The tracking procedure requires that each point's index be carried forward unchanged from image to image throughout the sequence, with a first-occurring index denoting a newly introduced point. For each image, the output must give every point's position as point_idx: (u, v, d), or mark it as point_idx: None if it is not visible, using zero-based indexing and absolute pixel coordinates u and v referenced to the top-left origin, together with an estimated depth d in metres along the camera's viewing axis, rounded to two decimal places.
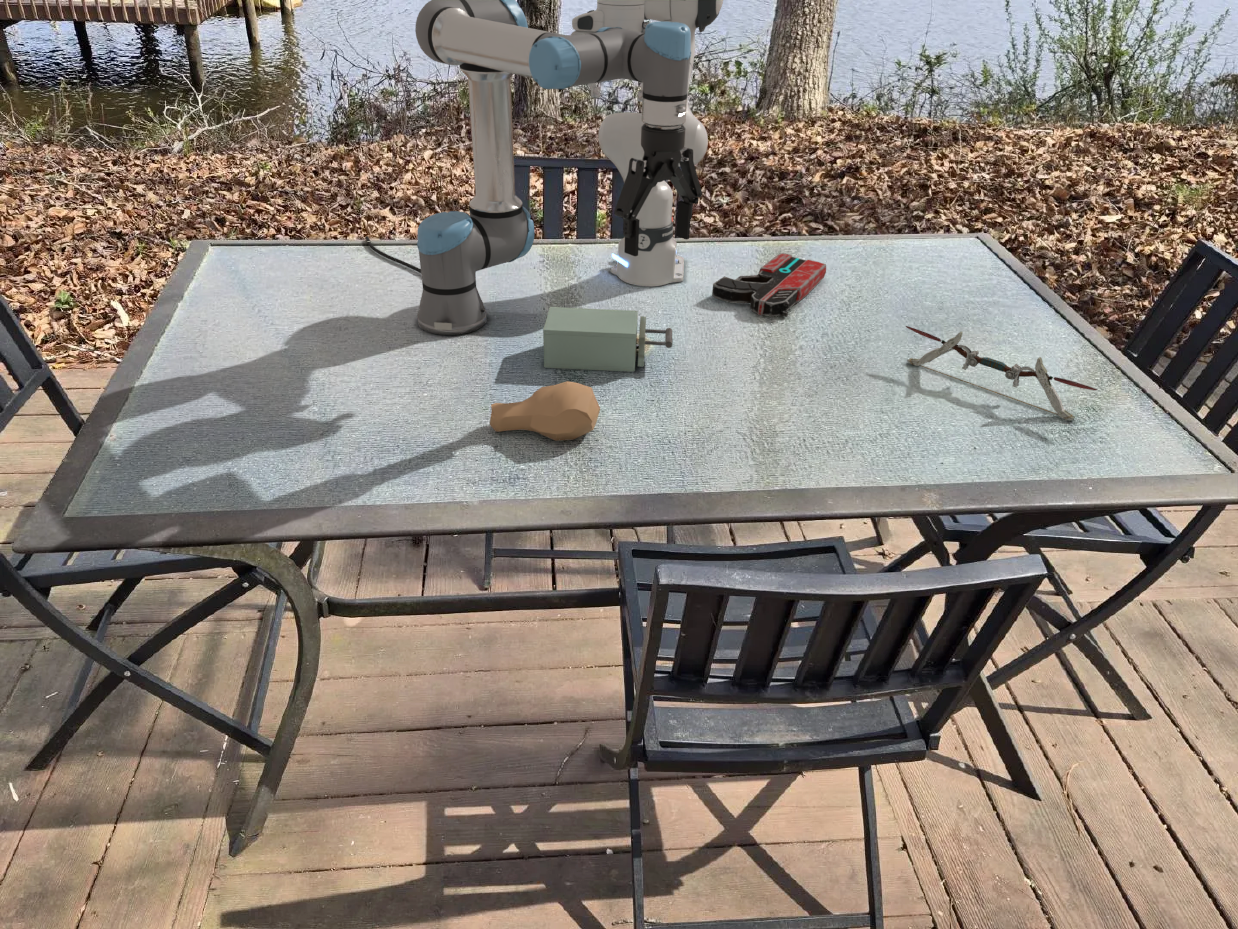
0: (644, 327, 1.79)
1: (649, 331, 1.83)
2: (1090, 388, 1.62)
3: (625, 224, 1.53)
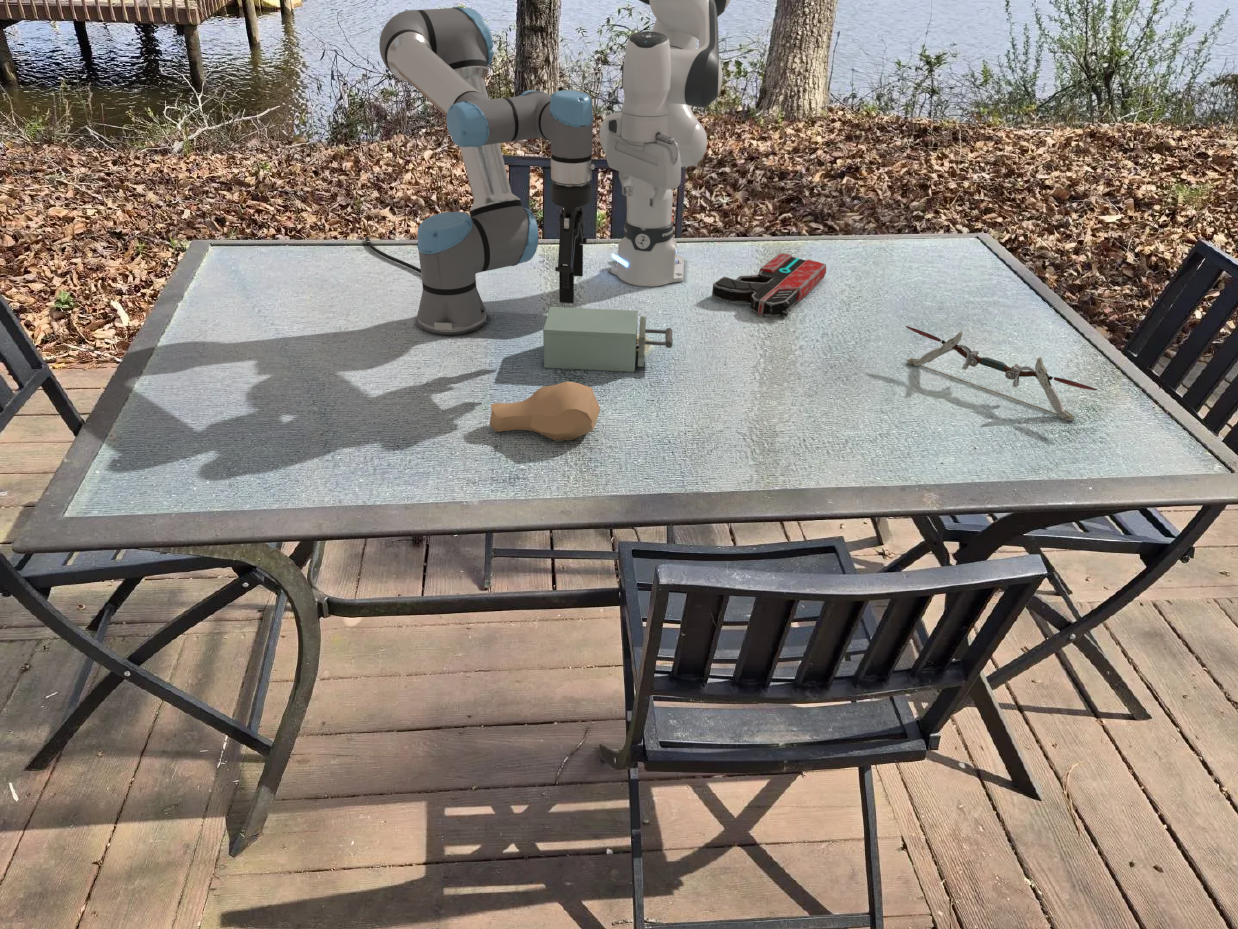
0: (644, 327, 1.79)
1: (649, 331, 1.83)
2: (1090, 388, 1.62)
3: (564, 277, 1.65)
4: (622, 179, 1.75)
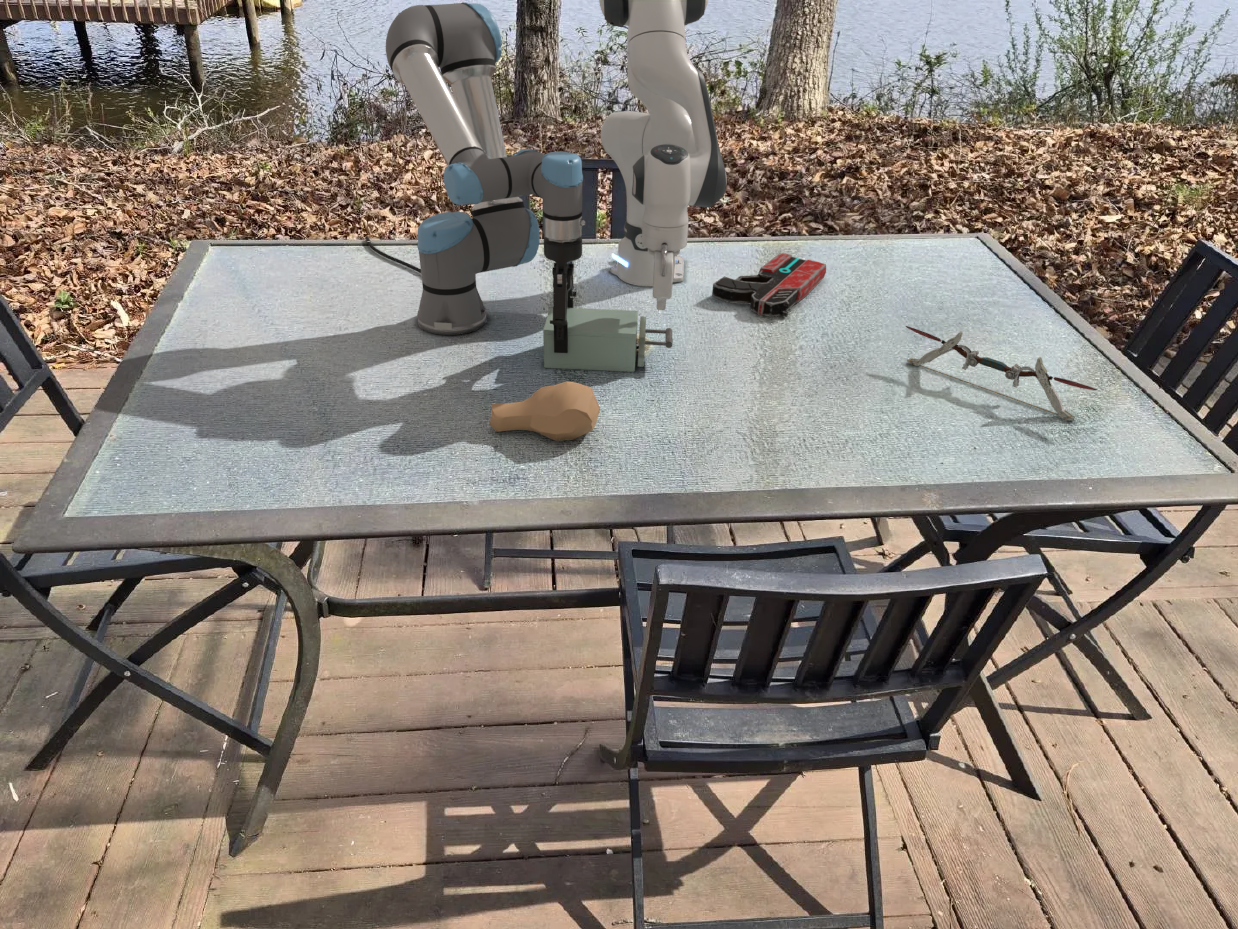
0: (644, 327, 1.79)
1: (649, 331, 1.83)
2: (1090, 388, 1.62)
3: (559, 329, 1.73)
4: None
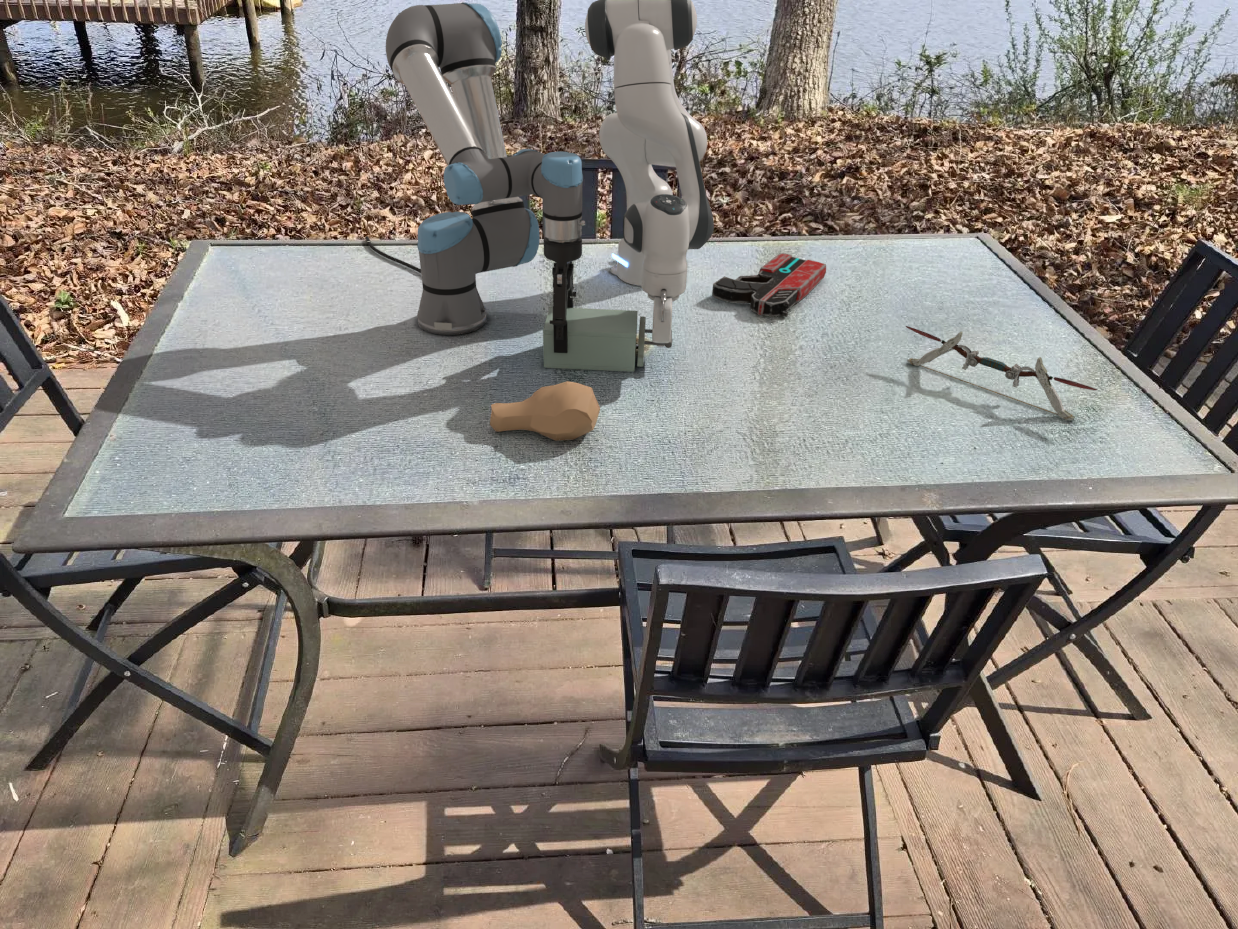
0: (644, 327, 1.79)
1: (649, 331, 1.83)
2: (1090, 388, 1.62)
3: (558, 329, 1.73)
4: None
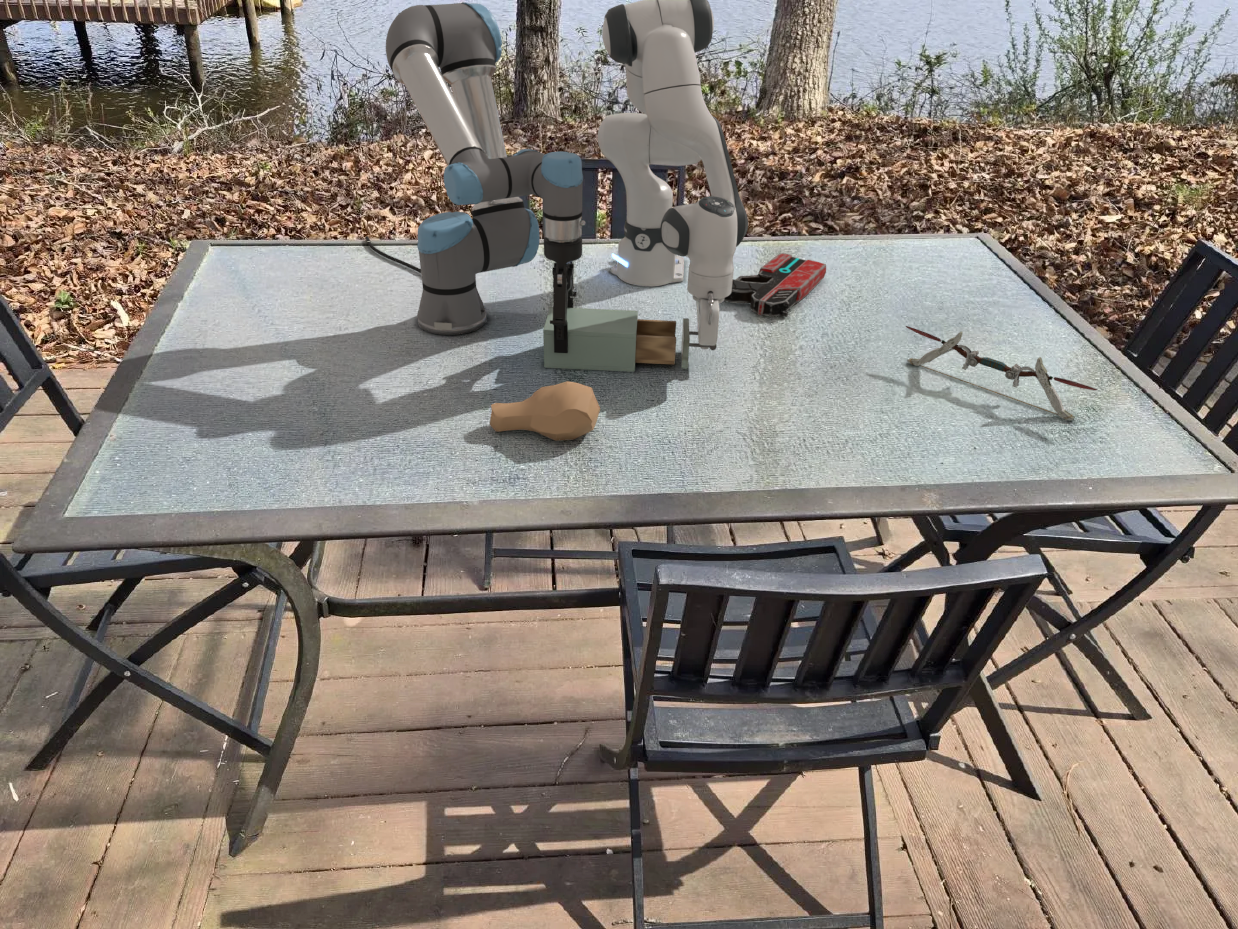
0: (688, 329, 1.79)
1: (692, 333, 1.83)
2: (1090, 388, 1.62)
3: (559, 329, 1.73)
4: None
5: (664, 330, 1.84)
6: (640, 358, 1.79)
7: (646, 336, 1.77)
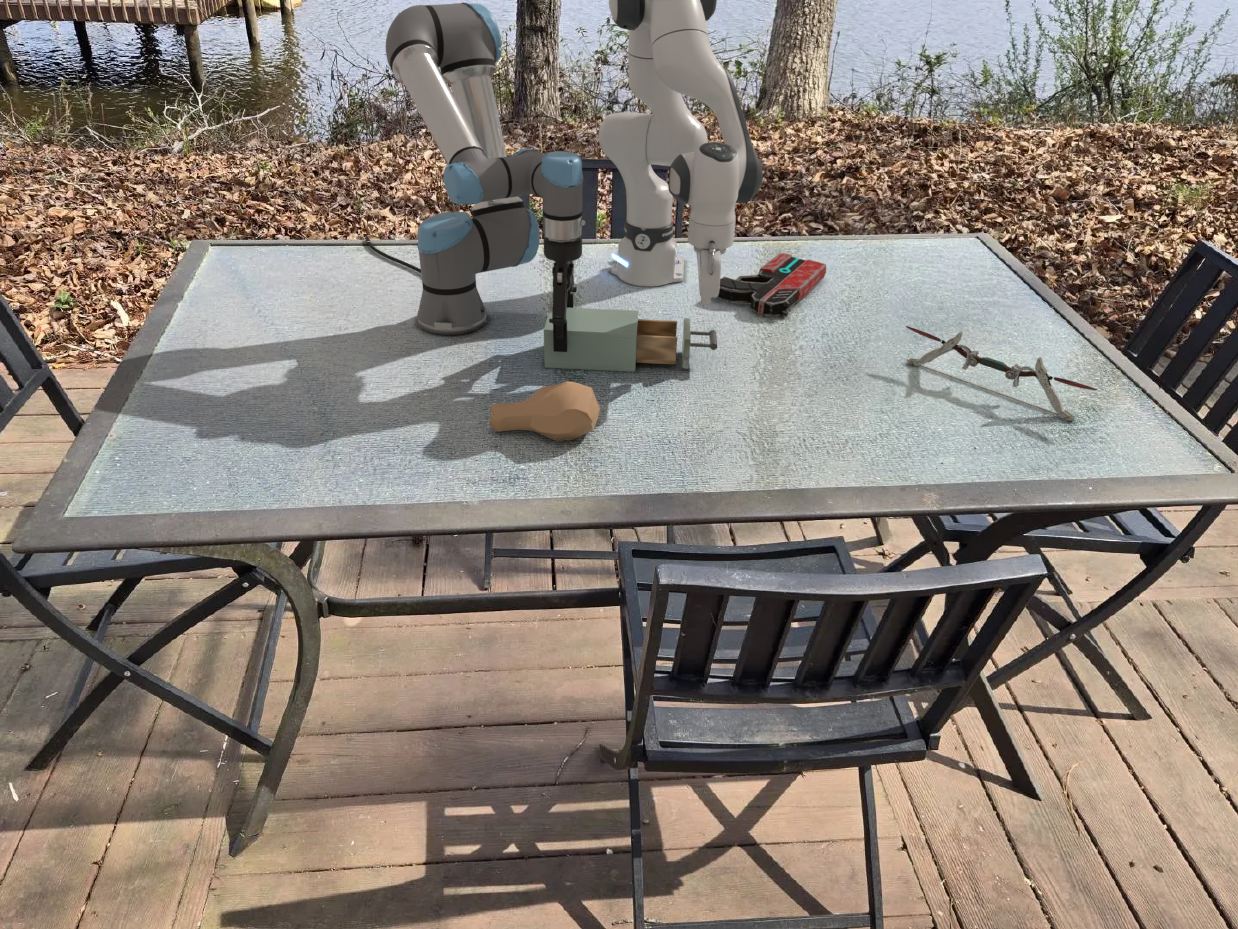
0: (689, 329, 1.79)
1: (693, 333, 1.83)
2: (1090, 388, 1.62)
3: (558, 328, 1.72)
4: None
5: (664, 330, 1.84)
6: (641, 358, 1.79)
7: (647, 336, 1.77)
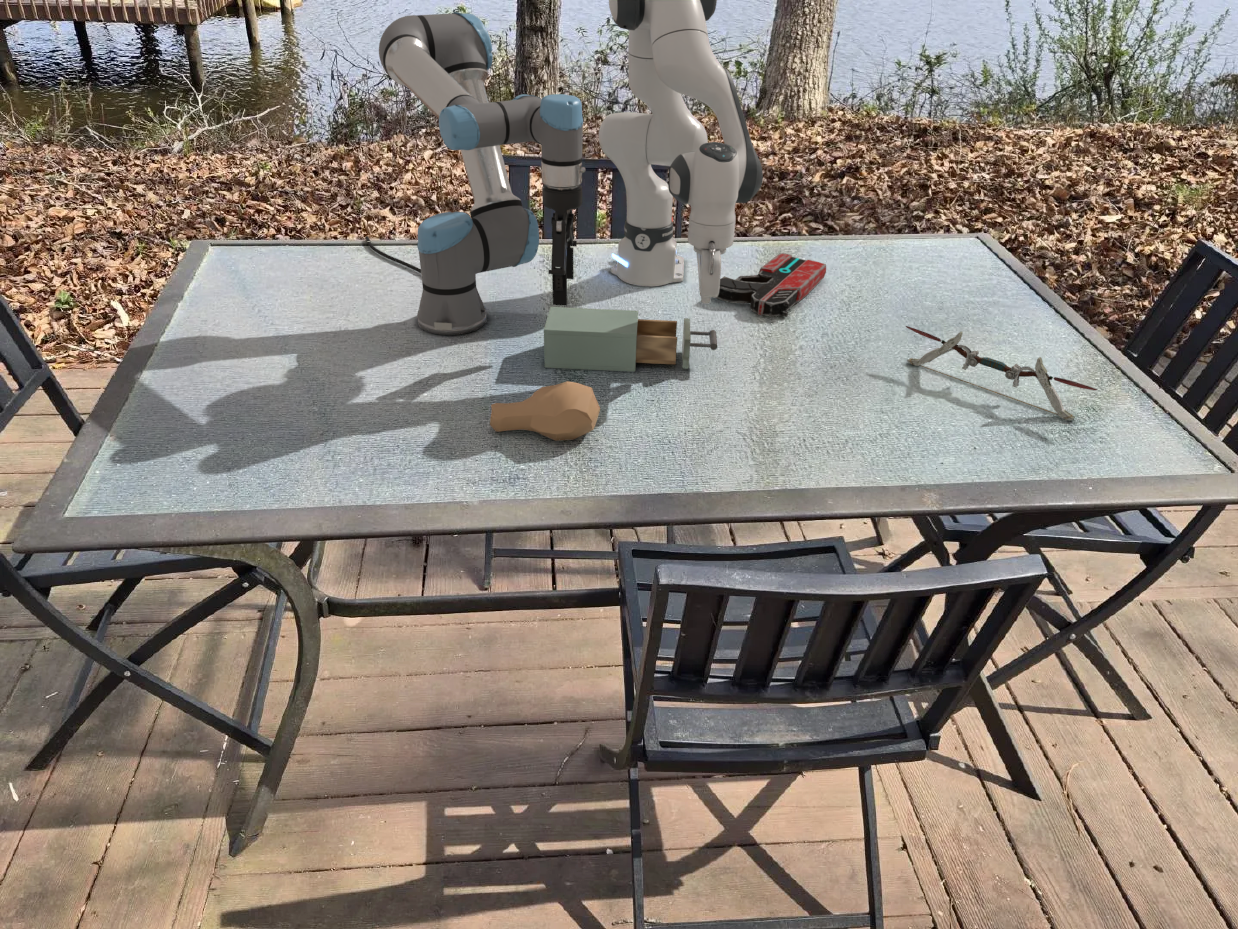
0: (689, 329, 1.79)
1: (693, 333, 1.83)
2: (1090, 388, 1.62)
3: (557, 279, 1.66)
4: None
5: (664, 330, 1.84)
6: (641, 358, 1.79)
7: (647, 336, 1.77)
